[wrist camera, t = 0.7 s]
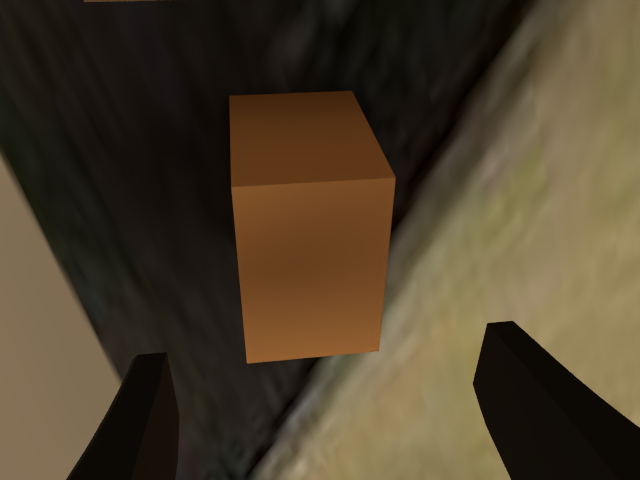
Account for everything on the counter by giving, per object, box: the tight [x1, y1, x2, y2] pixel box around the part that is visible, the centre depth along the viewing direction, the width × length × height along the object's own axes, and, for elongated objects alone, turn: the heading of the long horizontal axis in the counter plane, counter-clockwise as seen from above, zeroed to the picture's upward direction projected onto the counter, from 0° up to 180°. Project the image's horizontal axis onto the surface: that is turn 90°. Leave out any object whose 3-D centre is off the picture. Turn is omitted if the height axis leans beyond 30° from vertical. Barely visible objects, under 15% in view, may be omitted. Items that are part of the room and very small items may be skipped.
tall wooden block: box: [229, 91, 396, 363], centre depth 18 cm, size 6×4×6 cm, turn 179°
